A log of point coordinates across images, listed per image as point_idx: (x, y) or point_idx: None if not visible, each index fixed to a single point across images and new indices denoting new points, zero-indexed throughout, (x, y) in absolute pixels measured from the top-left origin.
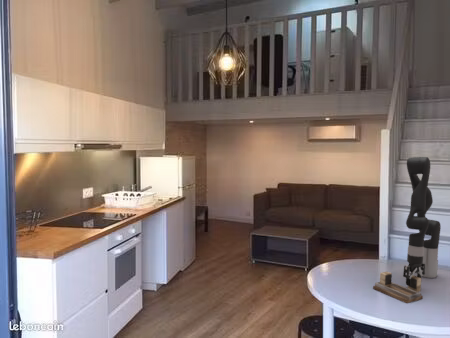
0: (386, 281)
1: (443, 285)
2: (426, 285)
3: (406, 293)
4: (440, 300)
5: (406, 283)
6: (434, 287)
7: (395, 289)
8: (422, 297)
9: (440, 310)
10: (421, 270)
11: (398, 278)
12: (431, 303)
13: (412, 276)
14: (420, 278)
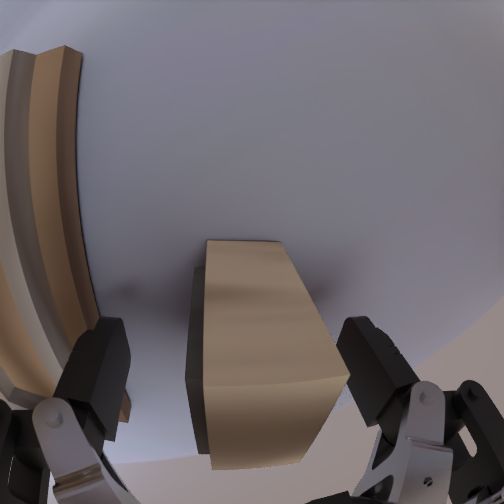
0: None
1: (485, 307)
2: (446, 266)
3: (34, 356)
4: None
5: (83, 341)
6: (438, 313)
7: None
8: (128, 413)
9: (122, 455)
10: (489, 418)
11: (421, 13)
12: (139, 433)
13: (247, 423)
14: (280, 463)
